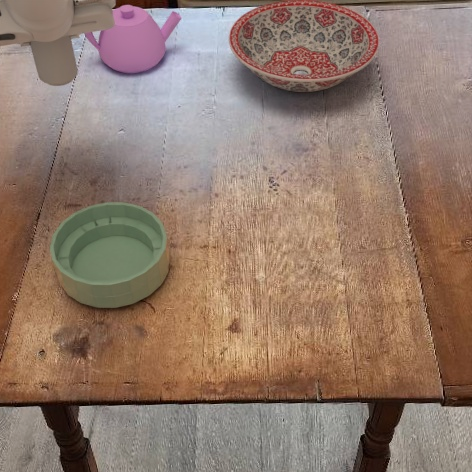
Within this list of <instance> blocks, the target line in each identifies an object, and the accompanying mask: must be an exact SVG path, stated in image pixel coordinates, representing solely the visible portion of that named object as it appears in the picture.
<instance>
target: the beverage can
mask: <svg viewBox="0 0 472 472" xmlns="http://www.w3.org/2000/svg"><path fill="white" fill-rule="evenodd" d="M30 50H31V54H32V58H33V61H34V64H35V67H36V72H37V75H38V79H39V80H40V81H41V82H42V83H44V84H47V85H49V86H52V87H60V86H65V85H69V84H70V83H72V82H73V81H74V79H76V77H77V76H78V73H79V69H78V65H77V60H76V55H75V51H74V46H73V42H72V39H71V38H70V36H63V37H61V38H59V39H57V40H54V41H50V42H39V41H31V42H30Z"/></svg>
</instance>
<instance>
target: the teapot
mask: <svg viewBox="0 0 472 472" xmlns="http://www.w3.org/2000/svg"><path fill="white" fill-rule="evenodd" d="M112 11H113V16H114V21H115V26H114V27H112V28H110V29H108V30H102V31H99V35H98V40H96V38H95V35H94V34H93V33H94V32H89V33H83V34H84V36H85V38H86V39H87V40H88V42H89V43H90V44H91V45H92V46H93V47H94V48H95V49H96V50H97V51H98V55H99V57H100V59H101V61H102V62H103V63H104V64H106V65H107V66H108V67H109V68H111V69H112V70H114V71H115V72H119V73H124V74H136V73H143V72H146V71H148V70H151V69H153V68H154V67H156V66H157V65H158V64H159V62H161V60H162V59H163V57H164V56H165V53H166V50H167V47H166V42H167V40H168V39H169V38H170V36H171V35H172V33H173V32H174V30H175V29H176V27H177V26H178V25H179V23H180V22H181V20H182V16H181V15H180V14H179V13H177V12H176V11H174V10H173V11H171V13H170V14H169V16H168V18H166V21H165V22H164V24H163V25H162V27H161V28H160V26H159V25H158V23H157V22H156V20H155V19H154V18H153V16H152V15H151V14H150V13H149V12H148V11H147V10H145V9H144V8H142V7H140V6H133V5H131V4H124V5H121V6H120V7H117V8H115V9H112Z"/></svg>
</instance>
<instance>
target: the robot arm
mask: <svg viewBox="0 0 472 472" xmlns="http://www.w3.org/2000/svg"><path fill="white" fill-rule="evenodd" d="M116 3H117V0H0V47H5V46H11V45H20V47H21V48H23V47H29V46H30V42H31V41H39V42H50V41H54V40H57V39H59V38H61V37H63V36H70V38H71V40H72V39H74V40H75V39H79V38H80V36H81V35H82V34H84V33H89V32H92V33H95V32H100V31H102V30H108V29H110V28H112V27H114V26H115V21H114V16H113V8H115V6H116ZM30 47H31V46H30Z"/></svg>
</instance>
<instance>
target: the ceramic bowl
mask: <svg viewBox="0 0 472 472" xmlns="http://www.w3.org/2000/svg"><path fill="white" fill-rule="evenodd" d="M228 45H229V48H230V50H231V52H232V54H233V56H234V57H235V58H236V59H237V60H238V61H239V62H240V63H241V64H242V65H244V66H246V67H247V68H248V69H249V70H250V71H251V72H252V74H254V75H255V76H256V77H258V78H259V79H261V81H263V82H265V83H267V84H268V85H270V86H273V87H275V88H278V89H281V90H284V91H288V92H294V93H295V92H297V93H311V92H319V91H325V90H327V89H330V88H333V87H335V86H338V85H339V84H342V83H343V82H345V81H347V80H348V79H349V78H350V77H352V76H353V75H355V74H356V73H357V72H359V71H361V70H363V69H365V68H366V67H367V66H368V65H369V64H371V62H373V60H374V59H375V58H376V56H377V54H378V52H379V49H380V37H379V34H378V32H377V30H376V28H375V27H374V25H373V24H372V23H371V22H370V21H369V20H368V19H367V18H365V17H364V16H363V15H361V14H360V13H357V12H356V11H354V10H352V9H350V8H347V7H345V6H342V5H339V4H335V3H331V2H327V1H319V0H281V1H275V2H274V1H273V2H270V3H266V4H264V5H260V6H257V7H255V8H252V9H250V10H248V11H247V12H245V13H244V14H243V15H241V16H240V17H239V18H237V19H236V21H235V22H234V23H233V25H232V26H231V28H230V30H229V34H228ZM298 71H304V72H307V74H299V73H297V74H296V73H295V72H298Z"/></svg>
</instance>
